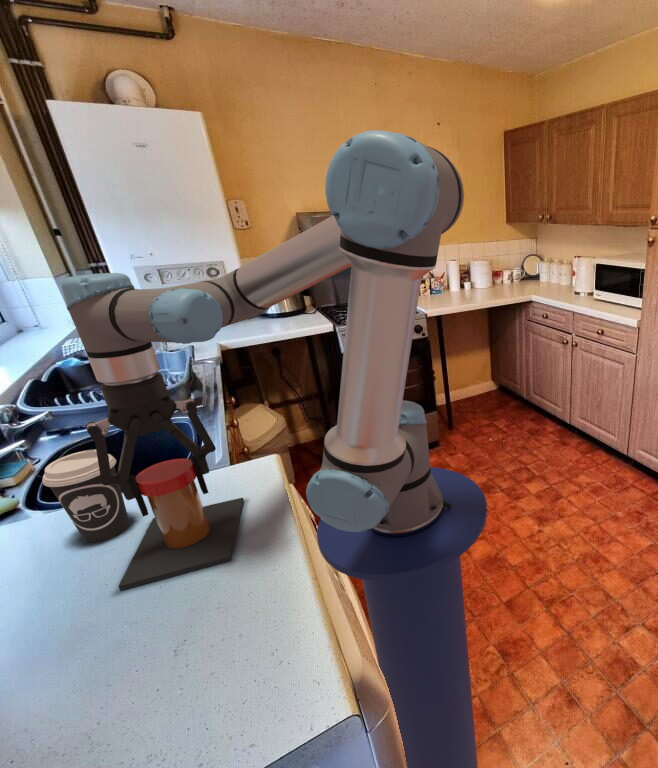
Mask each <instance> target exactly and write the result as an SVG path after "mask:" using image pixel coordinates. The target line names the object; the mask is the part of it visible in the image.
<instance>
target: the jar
mask: <svg viewBox="0 0 658 768" xmlns="http://www.w3.org/2000/svg"><path fill="white" fill-rule="evenodd" d="M146 498H147V500H148V504H149V505H150V509H151V511H152V513H153V516H154V518H156V521H157V523H158V526H159V528H160V531H161V533H162V536H163V539H164V541H165V544H166V546H167V547H169V548H173V549H177V548H183V547H187V546H190V545H192V544H195V543H197V542H198V541H200V540H202V539H203V538H204V537H205V536H206V535H207V534H208V533H209V531H210V525H209V522H208V519H207V517H206V514H205V511H204V508H203V507H204V505H203V502H202V499H201V496H200V493H199V491H198V488H197V485H196V482H195V480H194V481H193V482H192V483H190V484H189V485H187V486H186V487H184V488H182V489H180V490H178V491H175V492H172V493H169V494H166V495H161V496H153V497H149V496H146Z"/></svg>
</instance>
